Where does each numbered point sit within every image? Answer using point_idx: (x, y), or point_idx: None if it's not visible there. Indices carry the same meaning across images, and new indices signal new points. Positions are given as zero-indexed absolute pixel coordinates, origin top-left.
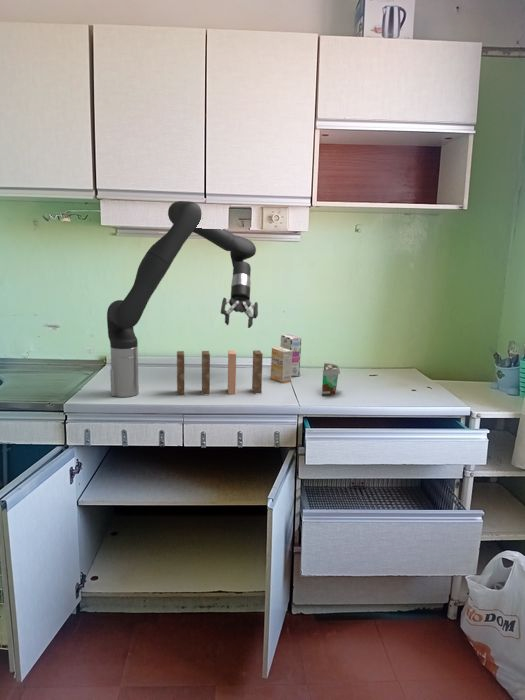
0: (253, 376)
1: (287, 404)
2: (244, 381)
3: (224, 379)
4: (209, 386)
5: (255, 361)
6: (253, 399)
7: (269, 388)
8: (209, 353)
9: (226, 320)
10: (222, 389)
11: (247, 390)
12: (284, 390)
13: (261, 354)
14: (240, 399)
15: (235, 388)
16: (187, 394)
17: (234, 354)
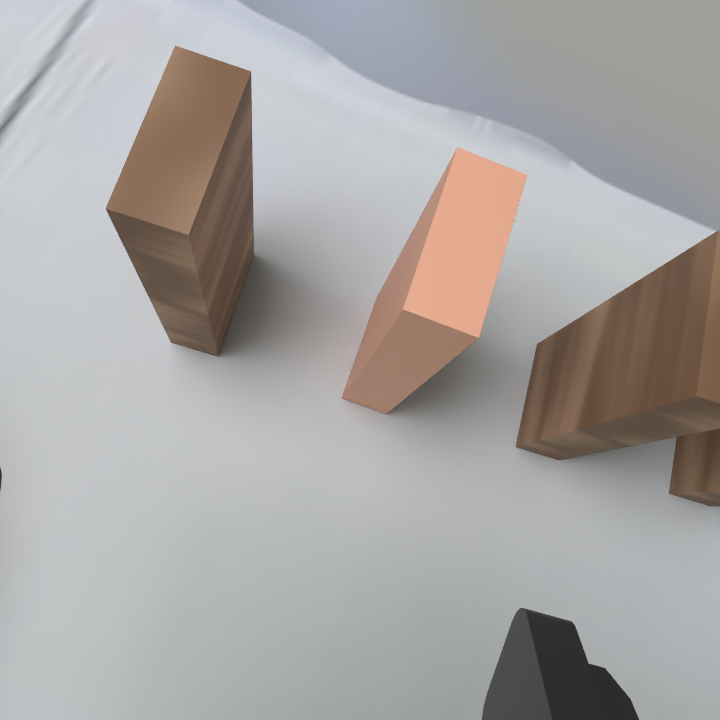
0: (227, 277)
1: (173, 2)
2: (165, 588)
3: (298, 712)
4: (563, 329)
5: (250, 126)
6: (316, 157)
7: (83, 327)
8: (714, 268)
9: (602, 695)
10: (418, 431)
11: (263, 343)
12: (8, 241)
13: (188, 53)
14: (390, 189)
15: (384, 283)
16: None
17: (472, 157)
